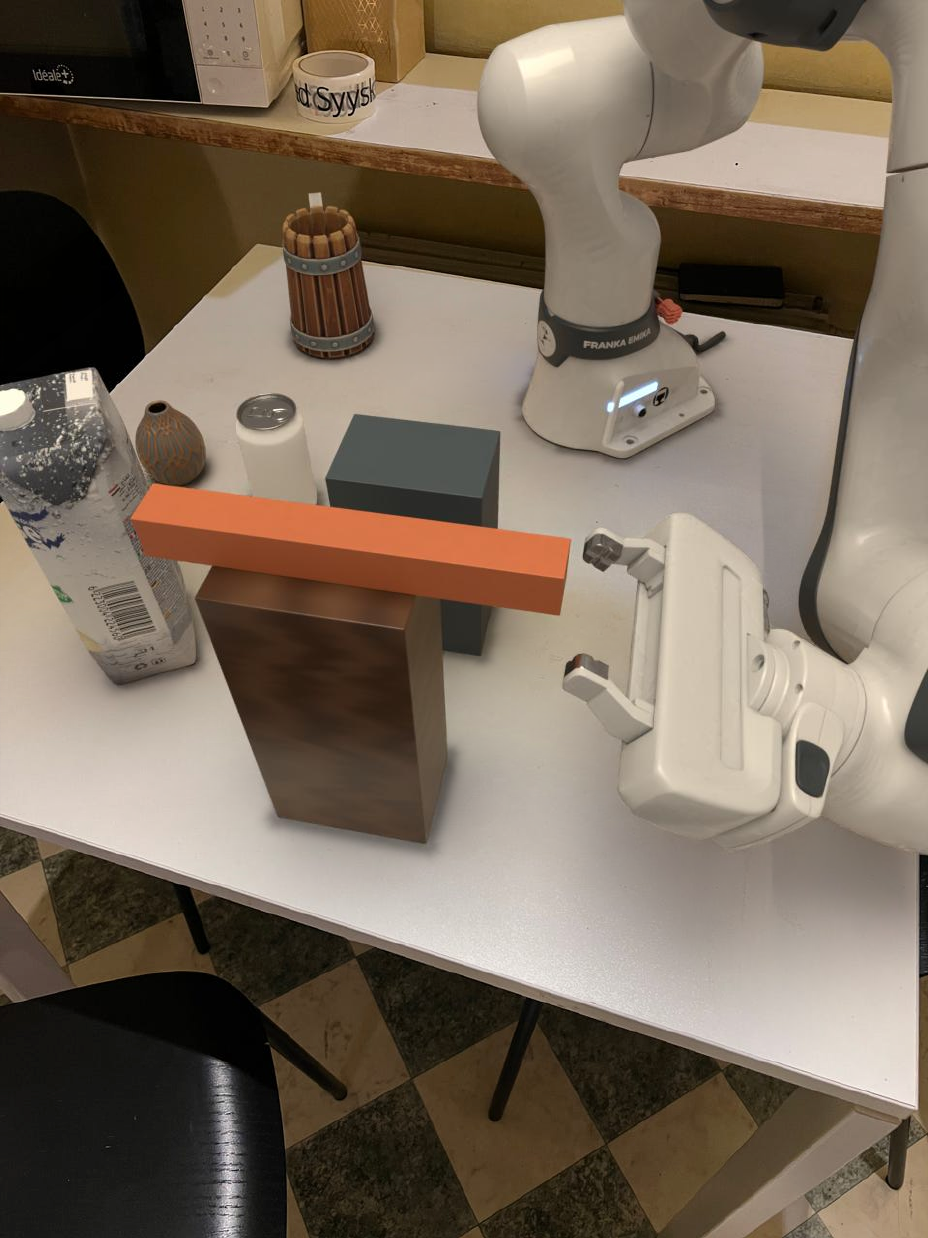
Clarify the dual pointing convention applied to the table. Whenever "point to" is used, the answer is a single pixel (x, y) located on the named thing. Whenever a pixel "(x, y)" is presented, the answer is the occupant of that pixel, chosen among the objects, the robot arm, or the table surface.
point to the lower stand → (423, 490)
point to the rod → (355, 548)
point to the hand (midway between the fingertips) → (579, 601)
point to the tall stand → (335, 696)
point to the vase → (169, 445)
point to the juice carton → (91, 523)
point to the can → (275, 449)
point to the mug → (326, 282)
